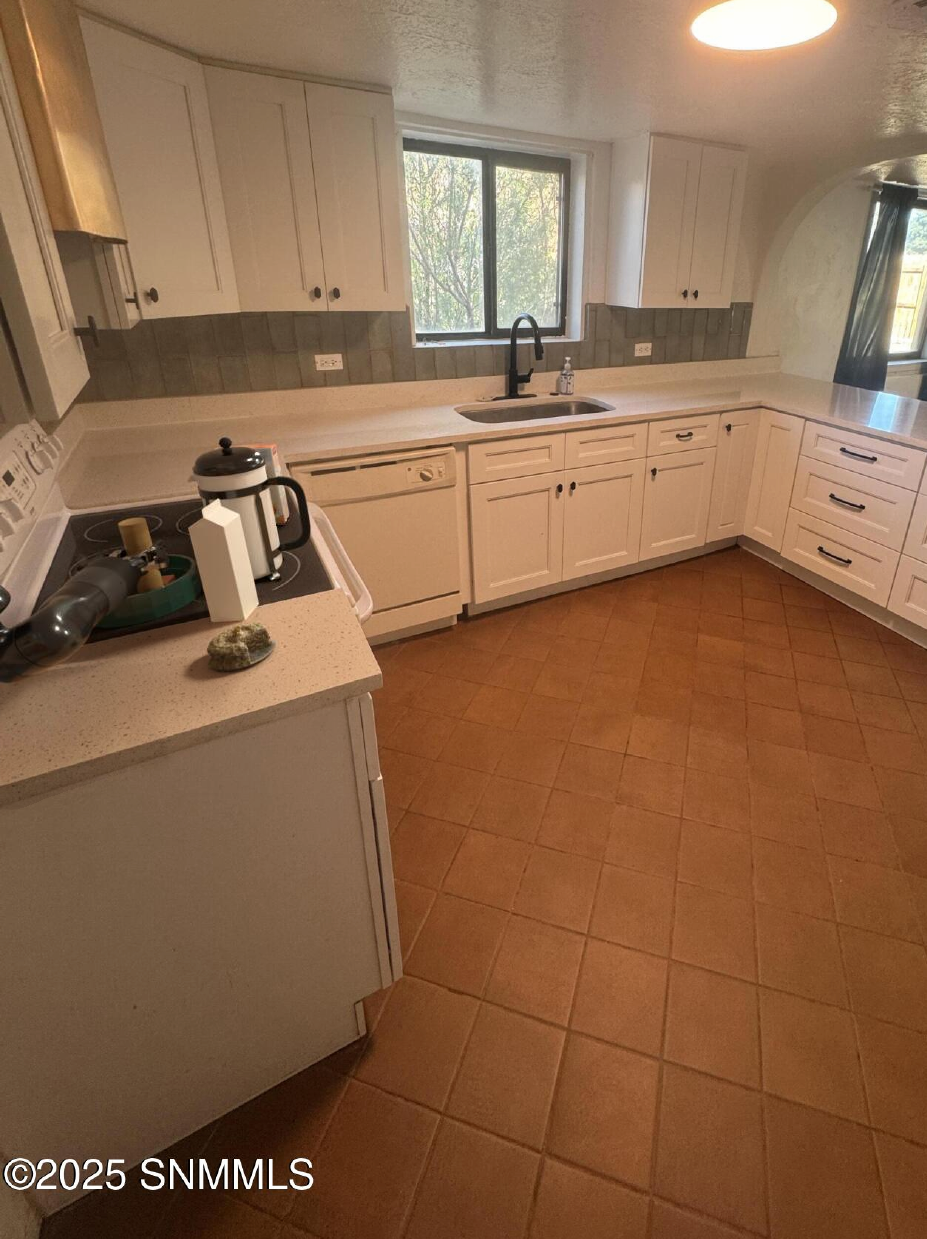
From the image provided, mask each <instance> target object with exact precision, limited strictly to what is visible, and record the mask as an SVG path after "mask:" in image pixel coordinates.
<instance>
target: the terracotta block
mask: <svg viewBox="0 0 927 1239" xmlns="http://www.w3.org/2000/svg"><path fill="white" fill-rule="evenodd" d="M161 577H162V580H163V584H164V586H165V585H167V584H169V583H171V582H173V581H175V580H176V579H175V575H166V576H161Z"/></svg>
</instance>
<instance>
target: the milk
mask: <svg viewBox="0 0 927 1239" xmlns="http://www.w3.org/2000/svg"><path fill="white" fill-rule="evenodd" d="M201 513H202V518H200V519H199V520H197V521H196V522H195V523H193V524H192V525H190V526H188V528H187V529H188V530H187V531H188V533H189V538H190V541H191V546H192V549H193V553H194V557H195V562H196V566H197V570H198V574H199V578H200V582H201V586H202V589H203V592H204V597H205V600H206V606H207V609H208V612H209V618H210V620H211V622H212V623H213V622H216V623H217V622H239V621H240V622H241V621H246V620H247V619H248V618H249V617H250V615H251V614H252V613H253V612H254V611H255V609H257V607H258V606H259V605H260V603H259V598H258V592H257V589H256V588H257V587H256V584H255V579H253V574H252V570H251V565H250V560H249V556H248V551H247V547H246V542H245V537H244V533H243V528H242V524H241V519H240V515H239V514H238V513H235V512H233V511H231V510H229V509H226V508H224V507H222V506H221V504H220V500H219V499H217V500H215V501H214V502H212V503H211V504H209V505H208V506H206V507H205V508H204V507H203V508H202V509H201Z"/></svg>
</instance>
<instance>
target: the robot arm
mask: <svg viewBox="0 0 927 1239" xmlns="http://www.w3.org/2000/svg"><path fill="white" fill-rule="evenodd" d="M152 544H153V545H152V546H150V547H149V548H148V549H147V550H145V551H138V552H136V553H134V554H132V555H131V556H127V552H126V549H125V546H123V547H121V548H120V549H117V550H114V551H113V552H112V553H109V552H102V553H100V554H98V555H96V556H94V557H92V558H90V559H88V560H86V561H84V562H81V563H80V564H77V565H76V566H75V569H76V574H74V575H73V576H72V577H70V578H69V579H68V580H67V581H66V582H65V583H64V584H63V586H61V587H60V588H59V589H58V590H57V591H55V592H54V593H53V594H52V595H50V596H49V597H48V598H47V599H46V600H45V601H43V603H41V605H40V606H39V607H38V609H37V611H36V613H34V614H32V615H30V616H29V617H27V618H26V619H23V620H22V621H20V622H18V623H16V624H14V625H13V626H10V627H6V625H4V624H3V623H2V621H1V620H0V683H3V684H11V685H12V684H13V685H14V684H20V683H24V682H26V681H27V682H28V681H29V680H31V679H33V678H35V677H36V676H38V675H41V674H42V673H44V672H45V671H47V670H49V669H51V668H52V667H54V666H56V665H58V664H60V663H62V662H64V661H66V660H68V659H69V658H70V657H72V656H73V655H74V654H75V653H77V652H79V650H80V649H81V648H82V647H83V646H84V645H85V644H86V642H87V641H88V638H89V637H90V634H91V632H92V631H93V628H95V626H96V625H97V624H98V623H99V622H100V621H101V620H102V619H103V618H104V617H105V616H106V615H108V614H109V613H111V612H112V611H113V610H114V609H115V608H116V607H118V606H119V605H120V604H121V603H122V602H123V601H124V600H125V599H126V598H127V597H128V596H129V595H130V594H131V593H132V592H133V591H134V590H135V588H136V587H137V584H138V582H139V579H140V577H142V576H144V575H146V574H147V573H148V572H149V570H154V569H156V570H159V572H166V571H167V570H168V563H169V559H168V551H167V547H166V543H165V541H164V540H163V539H160V540H156V541H155V542H153V543H152ZM149 554H150V558H151V559H150V558H149ZM11 600H12V596H11V593H10V592H9V591H8V590H7V589H6V588H5V587H4V586H3V585H1V584H0V615H1V614H2V613H3V612H4V611H5V610H6V609H7V608H8V606H9V605H10V604H11Z"/></svg>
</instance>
